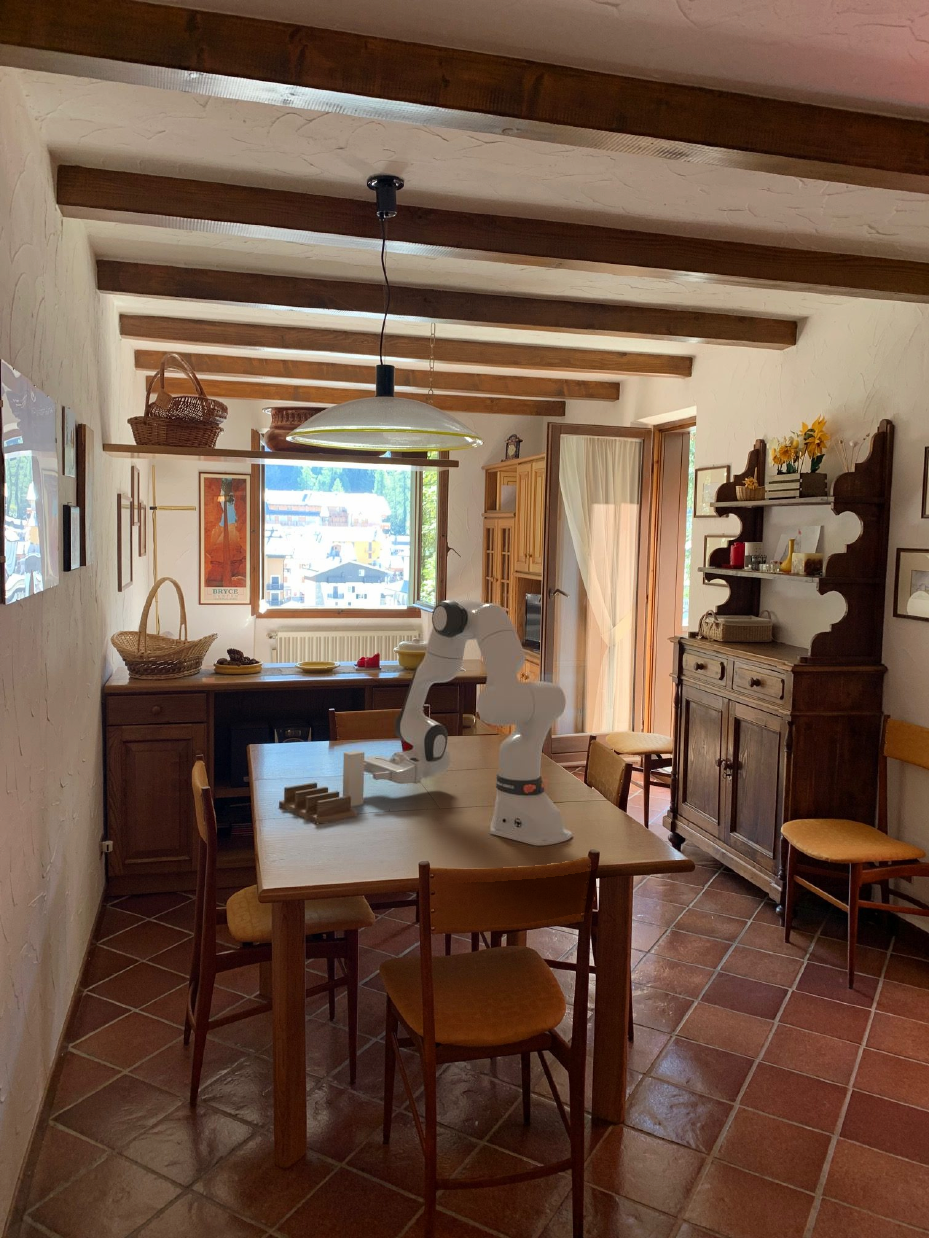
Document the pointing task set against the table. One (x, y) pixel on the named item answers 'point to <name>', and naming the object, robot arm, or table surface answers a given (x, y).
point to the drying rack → (316, 803)
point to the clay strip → (353, 776)
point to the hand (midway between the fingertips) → (364, 773)
